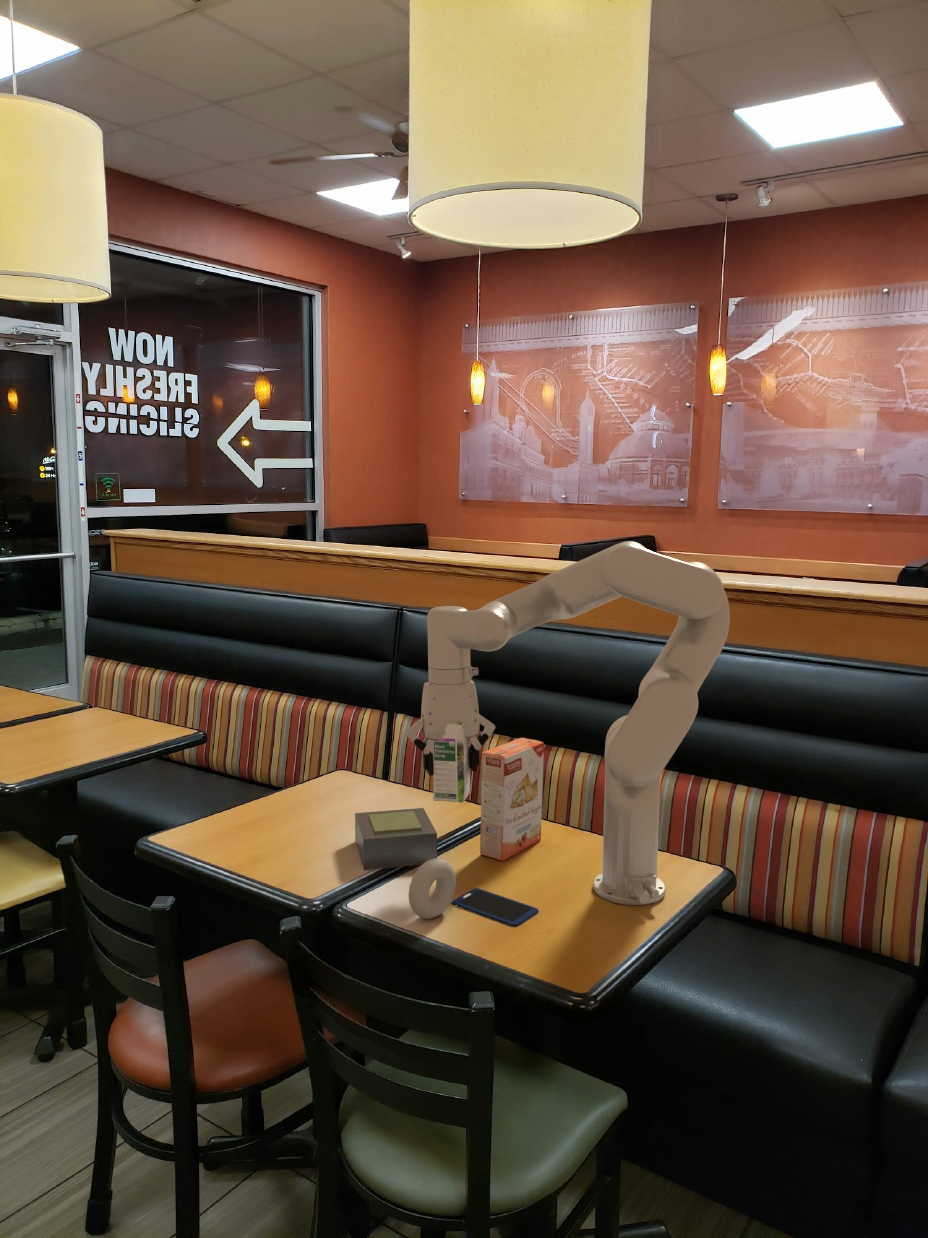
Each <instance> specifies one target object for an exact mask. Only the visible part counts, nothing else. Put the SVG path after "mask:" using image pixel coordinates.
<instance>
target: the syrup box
mask: <svg viewBox="0 0 928 1238" xmlns="http://www.w3.org/2000/svg"><path fill="white" fill-rule="evenodd" d="M434 741H435V742H434V745H433V747H432V749H431V753H432V754H433V772H434V774H433V775H432V779H433V786H432V787H433V789H432V795H433V797H432V799H433V802H451V803H461V804H463V803H464V802H465V800H466V799H467V797H468V796H469V795H470V793H471V779H470V778H471V773H470V771H471V769H470V760H469V747H470V741H469V738H465V732H464V724H463V722H461V723H452V724H447V726H446V728H445V731H444V734H443V736H442V739H439V740H434Z"/></svg>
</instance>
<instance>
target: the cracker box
mask: <svg viewBox="0 0 928 1238" xmlns="http://www.w3.org/2000/svg"><path fill="white" fill-rule="evenodd" d="M544 749H545V743H544V742H543V741H540V740H537V739H532V738H531V739H530V738H526V737H520V738H517V739H514V740H511V741H509V742H506V743H504V744H501V745H498V746H496V747H493V748H490V749H488V750H485V751H483V752H481V783H480V784H481V788H480V789H481V792H480V793H481V794H480V844H479V849H480V850H479V851H480V852H479V854H480V855H481V856H485V857H488V858H491V859H494V860H497V861H500V862H504V861H505V860H508V859H509V858H511V857H512V856H515V855H516V854H518V853H520V852H522V851H523V850H525V849H527V848H529V847H531V846H532V845H534V844H536V843H539V842H540V841H541V840H542V818H543V817H542V815H543V787H544V786H543V781H544V759H545V757H544V756H545V755H544V753H545V750H544Z"/></svg>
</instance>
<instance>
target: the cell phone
mask: <svg viewBox="0 0 928 1238" xmlns="http://www.w3.org/2000/svg"><path fill="white" fill-rule="evenodd" d="M450 904H451V905H452V906H455V905H457V906H458V908H460V907H462V908H461V909H463V908H464V909H463V910H465V911H468V910H470V911H469V912H471V913H474V912H475V914H477V915H480V916H482V915H483V917H485V918H487V919H491V920H494V921H496V922H499V923H502V924H505V925H506V926H507V925H508V926H510V927H514V928H515V927H516V928H517V927H519V926H521V925H522V924H524V923H525V922H527V921H528V920H530V919H532V918H534V917H535V916H536V915H538V914H539V909H538V908H537V907H535V906H533V905H529V904H526V903H523V902H520V901H518V900H514V899H511V898H509V897H505V896H503V895H499V894H497V893H494V892H490V891H488V890H485V889H481V888H478V887H475V888H472V889H470V890H469V891H466V892H465V893H463V894H462V895H459V896H458V897H457V898H455V899H452V900H451V902H450ZM457 906H456V907H457Z"/></svg>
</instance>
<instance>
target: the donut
mask: <svg viewBox="0 0 928 1238" xmlns="http://www.w3.org/2000/svg"><path fill="white" fill-rule="evenodd" d="M456 879H457V878H456V872H455V870H454V867H453V866H452V864H451V863H449V862H448V860H446V859H442V858H438V857H437V858H435V859H431V860H428V861H427V862H425V863H423V864H422V865H419V867H418V869H417V870H416V871H415V872H414V874H413V876H412V878H411V881H410V884H409V888H408V889H409V890H408V901H409V902H408V904H409V906H410V908H411V910H412V912H413V913H414V914H415V915H416V916H418V917H419V918H422V919H427V920H429V919H433V918H434V919H435V918H436V917H438V916H439V915H441V914H443V912H445V911H446V909H447V908H448V907H449V906H450V904H451V902H452V901H453V897H454V895H455V891H456V885H457V884H456V883H457V880H456ZM434 882H435V887H434V890H433V892H432V893H431V895H430V891H431V887H432V885H433V883H434Z"/></svg>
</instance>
